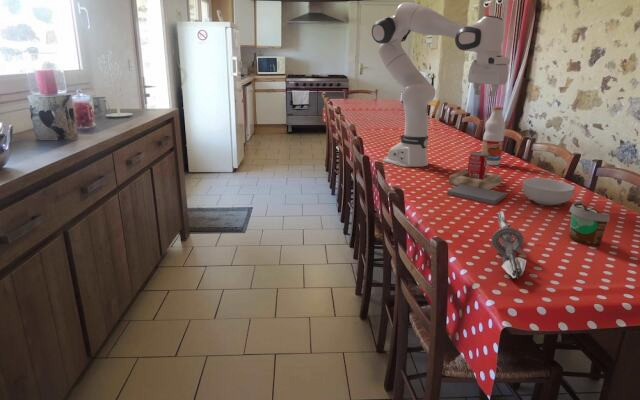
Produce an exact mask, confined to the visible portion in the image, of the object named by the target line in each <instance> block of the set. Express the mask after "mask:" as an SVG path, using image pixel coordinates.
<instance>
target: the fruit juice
mask: <svg viewBox="0 0 640 400" xmlns="http://www.w3.org/2000/svg"><path fill="white" fill-rule="evenodd" d="M503 110H504V107H503V106H492V107H491V114H490V116H489V118H488V119H487V120H486V122H485V125H484V129H485V130H484V133H483V135H482V136H483V137H482V145H481V151H480V152H483V153H486V154H487V155H486V156H487V165H486V166H499V165H500V164H501V159H502V153H503V146H504V139H505V134H504V130H505V129H506V122H505V120H504V117H503Z"/></svg>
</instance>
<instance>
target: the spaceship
mask: <svg viewBox="0 0 640 400" xmlns="http://www.w3.org/2000/svg"><path fill="white" fill-rule="evenodd" d="M505 214H506V213H505V211H503V210H500V211H499V212H498V214H497V222H498V225H499V229H498V230H495V232H494V233H493V235H492V237H491V245H492V246H493V249H495V250H496V253H497V254H498V255H500V256H502V265H501V268H502V269H503V270H504V271H505V272H506V273H507V274H508V275H510V276H511V278H512V279H515V280H516V279H517V280H519V278H520V277H521V276H523V274H524V272H525V269H526V265H527V261H528V260H526V259H524V258H522V257H518V256H516V252H517V253H519V254H521V255H522V256H523V257H525V258H527V256H526V252H525V251H524V250H523V249H522V248H521V247H523V245H524V236H523V234H522V232H521V231H519V230H518V229H517V228H514V227H511V223H508V222H507V221H506V215H505ZM513 236H514V237H515V238H512V237H513ZM499 239H501V240H499Z"/></svg>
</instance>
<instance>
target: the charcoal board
mask: <svg viewBox="0 0 640 400" xmlns="http://www.w3.org/2000/svg"><path fill="white" fill-rule="evenodd" d="M448 194H449V196H453V195H454V196H453V197H457V196H458V198H463V199H466V200H471V201H472V200H473V201H477V202H481V203H485V204H490V205H496V204H497V203H499V202H500V201H502V200H503V199H505V198H506V197H507V193H506V192H501V191H496V190H492V189H490V190H487V189H482V188H477V187H472V186H467V185H462V184H460V185H458V186H456V185H455V186H454V187H453V188H450V189H448V190H447V195H448Z"/></svg>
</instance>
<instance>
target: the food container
mask: <svg viewBox="0 0 640 400" xmlns="http://www.w3.org/2000/svg"><path fill="white" fill-rule="evenodd" d="M569 212H570V213H571V217H570V226H569V239H570V240H571V241H573V242H576V243H578V244H581V245H585V244H586V245H585V246H590V245H595V246H594V247H600V245H601V242H602V239H603V237H604V233H605V230H606V227H607V224H608V223H609V222H610V215H611V214H610V213H601V212H600V211H598V210H597V209H595V208H593V207H589V206H587V205H585V204H583V200H579V201H575V202H572V205H570V208H569Z"/></svg>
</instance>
